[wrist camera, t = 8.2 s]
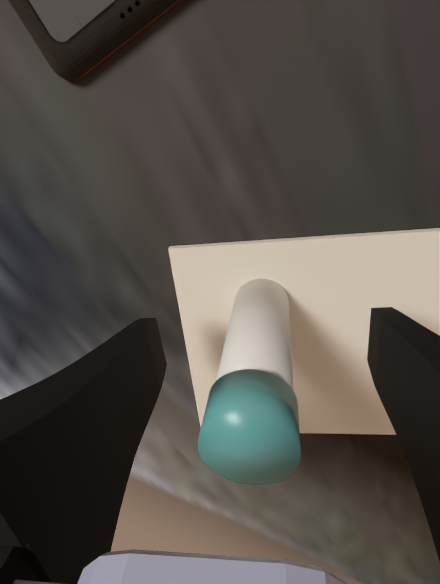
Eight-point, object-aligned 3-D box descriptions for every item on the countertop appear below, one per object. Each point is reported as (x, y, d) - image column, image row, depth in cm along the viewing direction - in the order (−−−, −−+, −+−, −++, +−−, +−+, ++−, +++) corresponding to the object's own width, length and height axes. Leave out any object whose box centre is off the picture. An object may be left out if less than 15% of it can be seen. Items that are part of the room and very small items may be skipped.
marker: (289, 273, 13) (298, 415, 7) (293, 325, 14) (303, 487, 8) (228, 278, 14) (188, 414, 8) (236, 328, 15) (206, 482, 9)
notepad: (568, 219, 12) (576, 221, 11) (497, 431, 16) (501, 437, 16) (170, 246, 14) (168, 249, 14) (202, 426, 18) (201, 432, 18)
